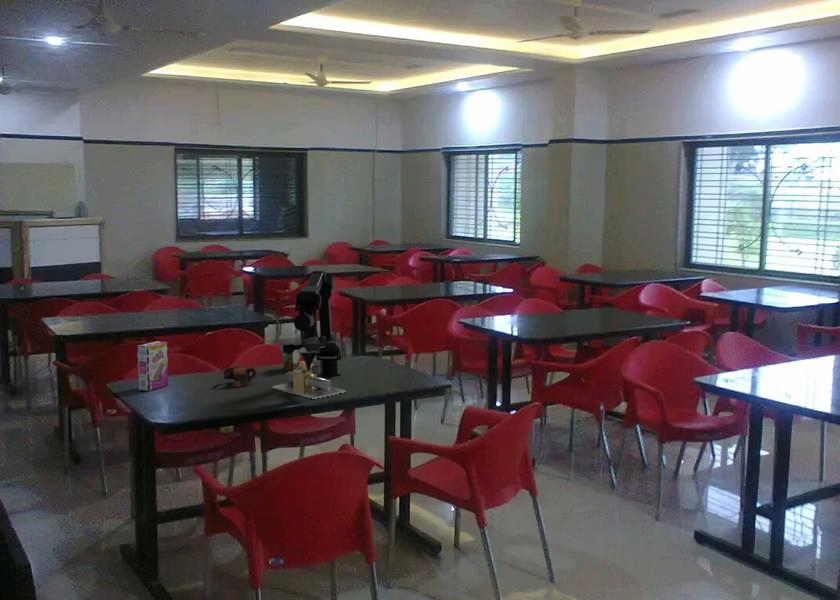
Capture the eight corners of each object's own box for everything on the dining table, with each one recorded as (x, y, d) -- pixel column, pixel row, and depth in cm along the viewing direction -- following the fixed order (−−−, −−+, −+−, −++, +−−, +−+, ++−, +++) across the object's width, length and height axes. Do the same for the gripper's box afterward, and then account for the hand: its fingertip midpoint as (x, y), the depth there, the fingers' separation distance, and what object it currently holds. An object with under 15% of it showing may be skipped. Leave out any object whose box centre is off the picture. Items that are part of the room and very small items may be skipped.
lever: (298, 367, 304) (297, 359, 304) (307, 366, 306) (307, 358, 305) (312, 374, 291) (312, 366, 291) (322, 373, 293) (322, 365, 292)
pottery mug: (228, 390, 306) (221, 369, 308) (228, 396, 315) (221, 375, 317) (260, 379, 310) (253, 358, 312) (259, 385, 319) (252, 365, 321)
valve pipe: (272, 388, 306) (271, 366, 305) (303, 382, 316) (302, 360, 315) (314, 399, 290) (313, 376, 289) (345, 392, 300) (345, 370, 299)
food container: (286, 365, 346) (285, 341, 345) (301, 365, 346) (300, 341, 344) (277, 371, 334) (276, 346, 333) (292, 372, 333) (291, 347, 332)
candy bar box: (149, 392, 302) (147, 346, 300) (138, 390, 304) (136, 345, 301) (169, 385, 312) (167, 341, 310) (158, 384, 314) (156, 340, 312)
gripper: (286, 331, 281) (286, 377, 283) (341, 329, 287) (340, 374, 289) (280, 326, 291) (279, 370, 293) (333, 324, 297) (332, 368, 299)
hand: (308, 371), depth 293 cm, fingers closed
